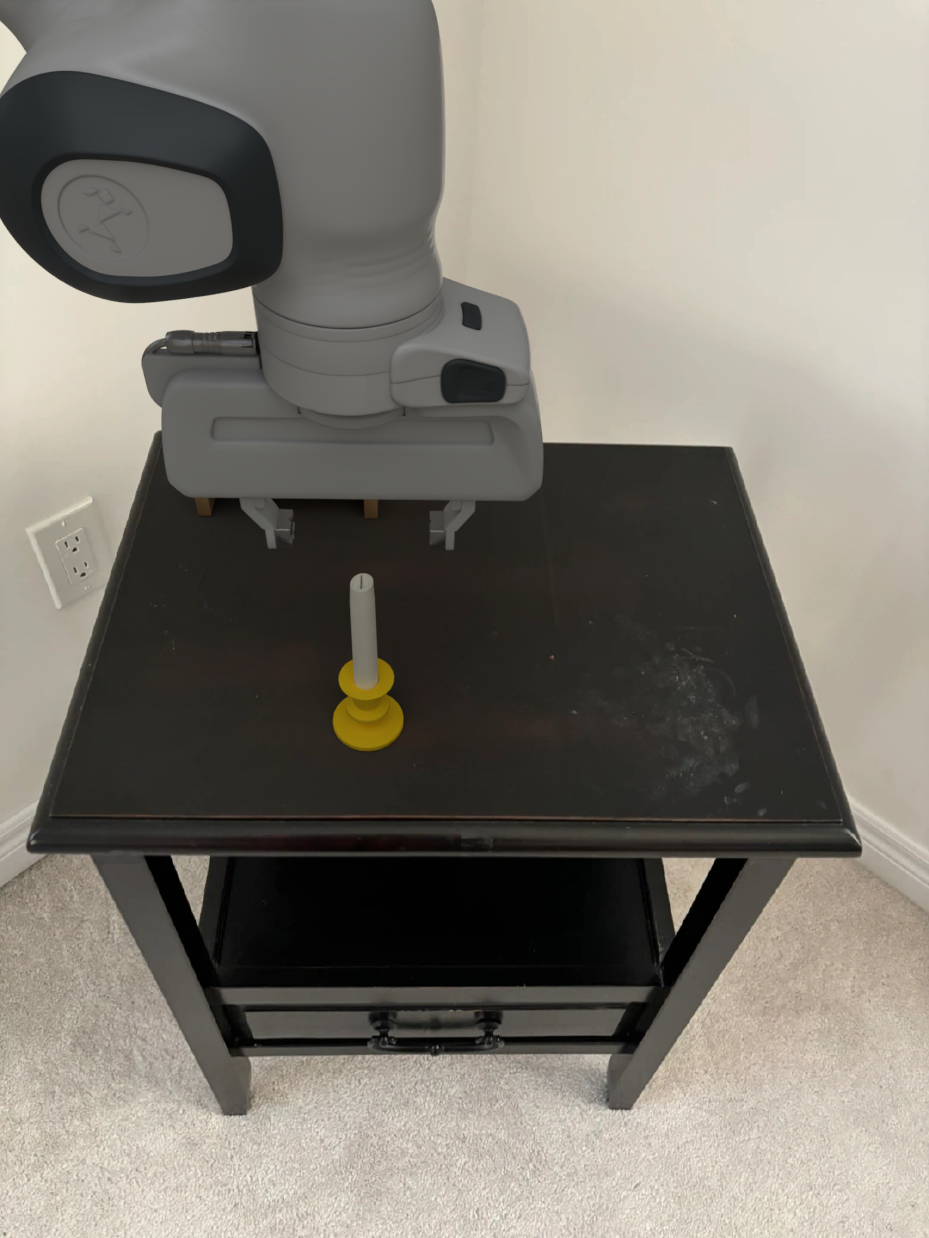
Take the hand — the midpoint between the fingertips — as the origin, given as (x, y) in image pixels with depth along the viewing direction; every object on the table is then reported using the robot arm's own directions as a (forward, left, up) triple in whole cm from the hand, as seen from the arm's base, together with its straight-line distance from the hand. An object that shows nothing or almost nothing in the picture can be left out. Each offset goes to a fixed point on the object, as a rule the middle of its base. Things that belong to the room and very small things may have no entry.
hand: (362, 542), depth 55 cm
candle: (0, 0, -19) cm, 19 cm away
